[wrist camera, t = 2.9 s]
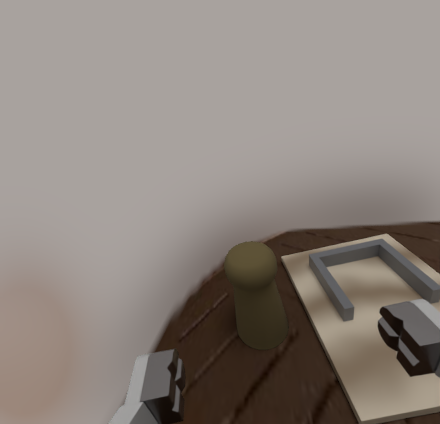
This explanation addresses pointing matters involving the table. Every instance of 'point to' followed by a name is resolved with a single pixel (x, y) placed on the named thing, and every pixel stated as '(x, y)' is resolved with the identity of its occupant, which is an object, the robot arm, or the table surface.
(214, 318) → the table surface
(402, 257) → the frame
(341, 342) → the board
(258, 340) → the olive pawn
